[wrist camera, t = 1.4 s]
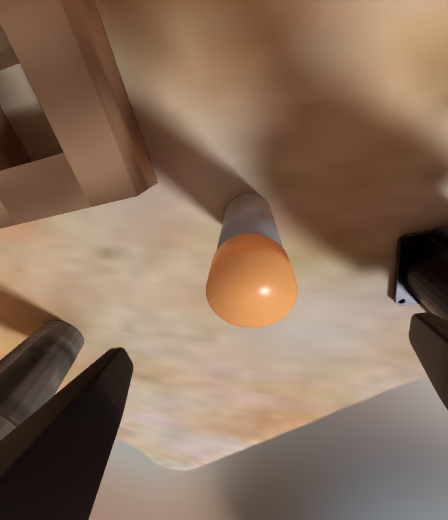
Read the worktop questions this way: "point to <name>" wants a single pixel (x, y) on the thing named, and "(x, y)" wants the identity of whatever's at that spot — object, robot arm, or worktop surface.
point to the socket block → (68, 114)
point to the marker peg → (250, 267)
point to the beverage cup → (35, 371)
